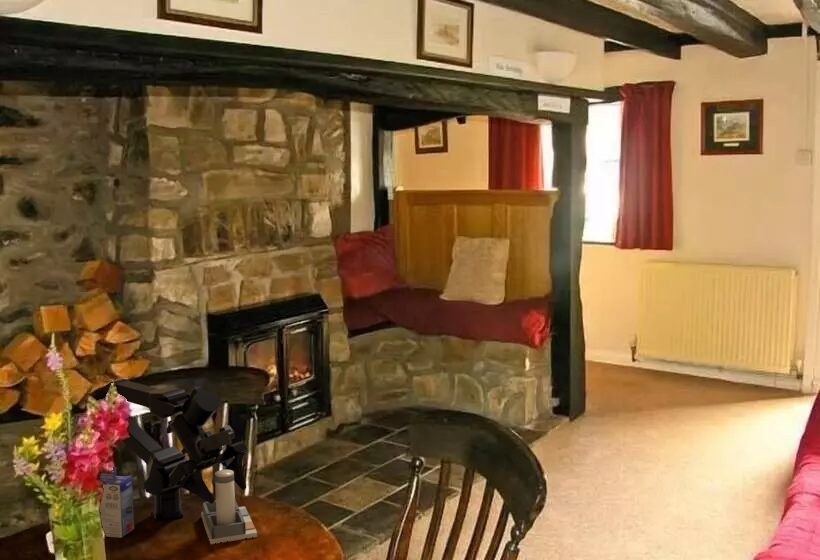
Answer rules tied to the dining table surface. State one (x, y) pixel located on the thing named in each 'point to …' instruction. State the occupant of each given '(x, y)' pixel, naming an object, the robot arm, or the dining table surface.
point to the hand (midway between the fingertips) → (229, 495)
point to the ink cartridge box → (117, 504)
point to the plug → (225, 497)
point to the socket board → (229, 531)
